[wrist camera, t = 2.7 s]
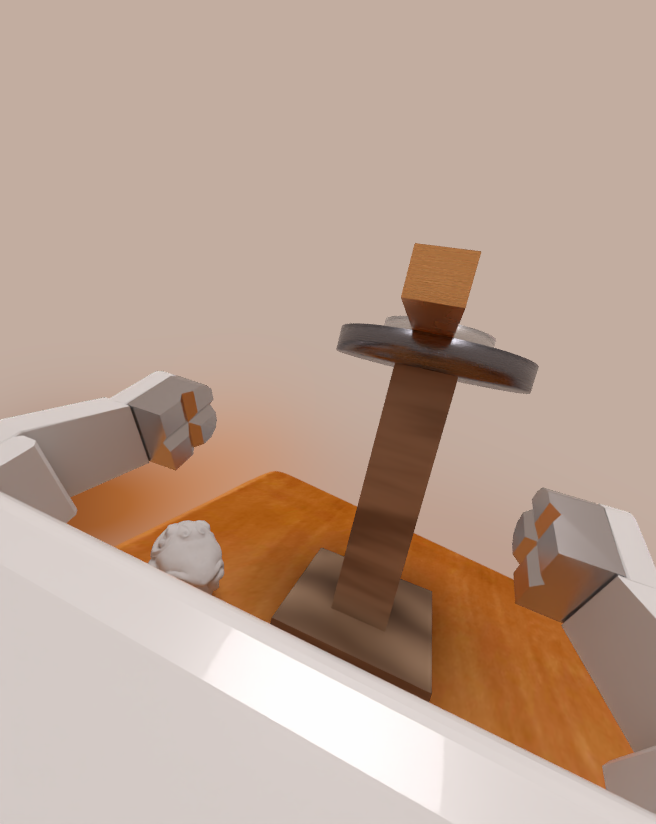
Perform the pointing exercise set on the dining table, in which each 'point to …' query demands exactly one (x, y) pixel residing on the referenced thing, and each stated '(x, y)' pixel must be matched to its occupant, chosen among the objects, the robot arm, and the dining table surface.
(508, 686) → the dining table surface
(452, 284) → the cover
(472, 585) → the dining table surface
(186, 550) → the frog figurine
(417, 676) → the pedestal
